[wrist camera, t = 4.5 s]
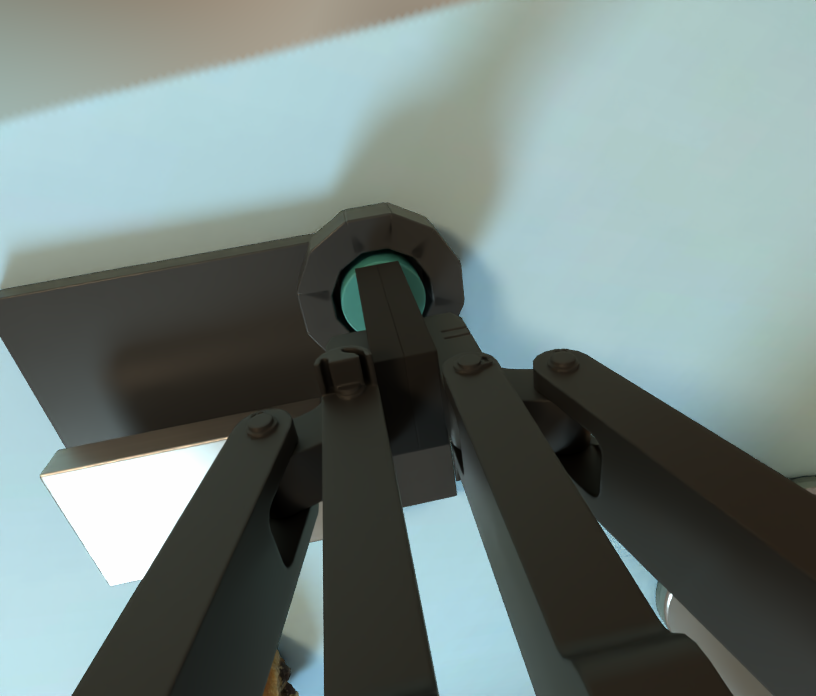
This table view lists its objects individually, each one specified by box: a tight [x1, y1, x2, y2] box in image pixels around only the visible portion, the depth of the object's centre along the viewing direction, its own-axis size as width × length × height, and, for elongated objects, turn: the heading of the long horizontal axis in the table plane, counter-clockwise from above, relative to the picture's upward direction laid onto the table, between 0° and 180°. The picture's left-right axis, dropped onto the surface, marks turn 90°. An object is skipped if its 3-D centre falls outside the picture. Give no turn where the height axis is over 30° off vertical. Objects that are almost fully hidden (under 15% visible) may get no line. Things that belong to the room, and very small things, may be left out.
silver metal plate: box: [40, 397, 323, 586], centre depth 20 cm, size 10×6×2 cm, turn 98°
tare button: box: [340, 249, 426, 331], centre depth 19 cm, size 3×3×2 cm
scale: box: [0, 203, 464, 508], centre depth 21 cm, size 17×15×3 cm
